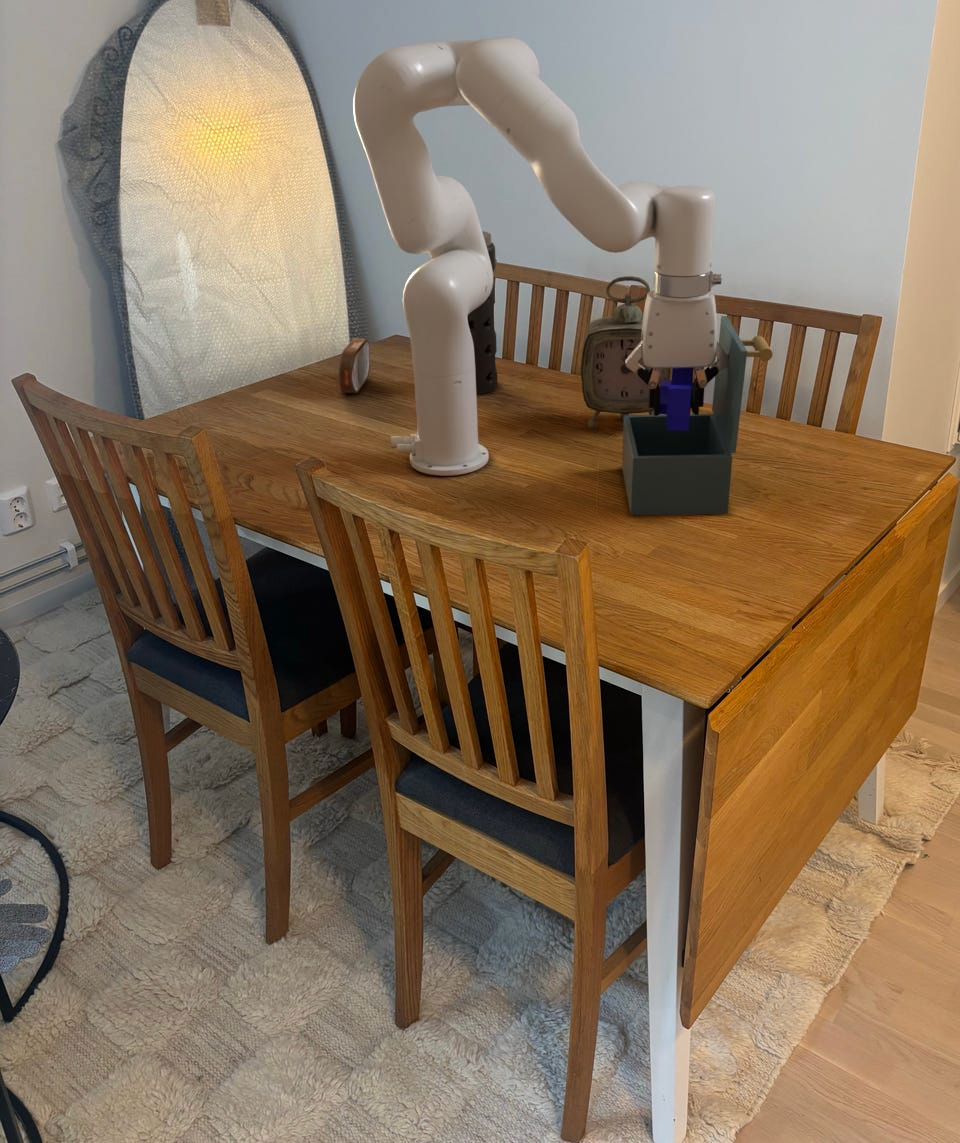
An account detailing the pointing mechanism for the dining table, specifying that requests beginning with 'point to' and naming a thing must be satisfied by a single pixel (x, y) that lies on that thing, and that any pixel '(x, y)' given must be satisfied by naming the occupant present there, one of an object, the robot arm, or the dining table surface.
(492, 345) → the muzzle brake
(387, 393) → the dining table surface
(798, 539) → the dining table surface
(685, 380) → the blue stepped block
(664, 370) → the tabletop clock
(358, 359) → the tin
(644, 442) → the chest
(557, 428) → the dining table surface
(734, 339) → the lid
